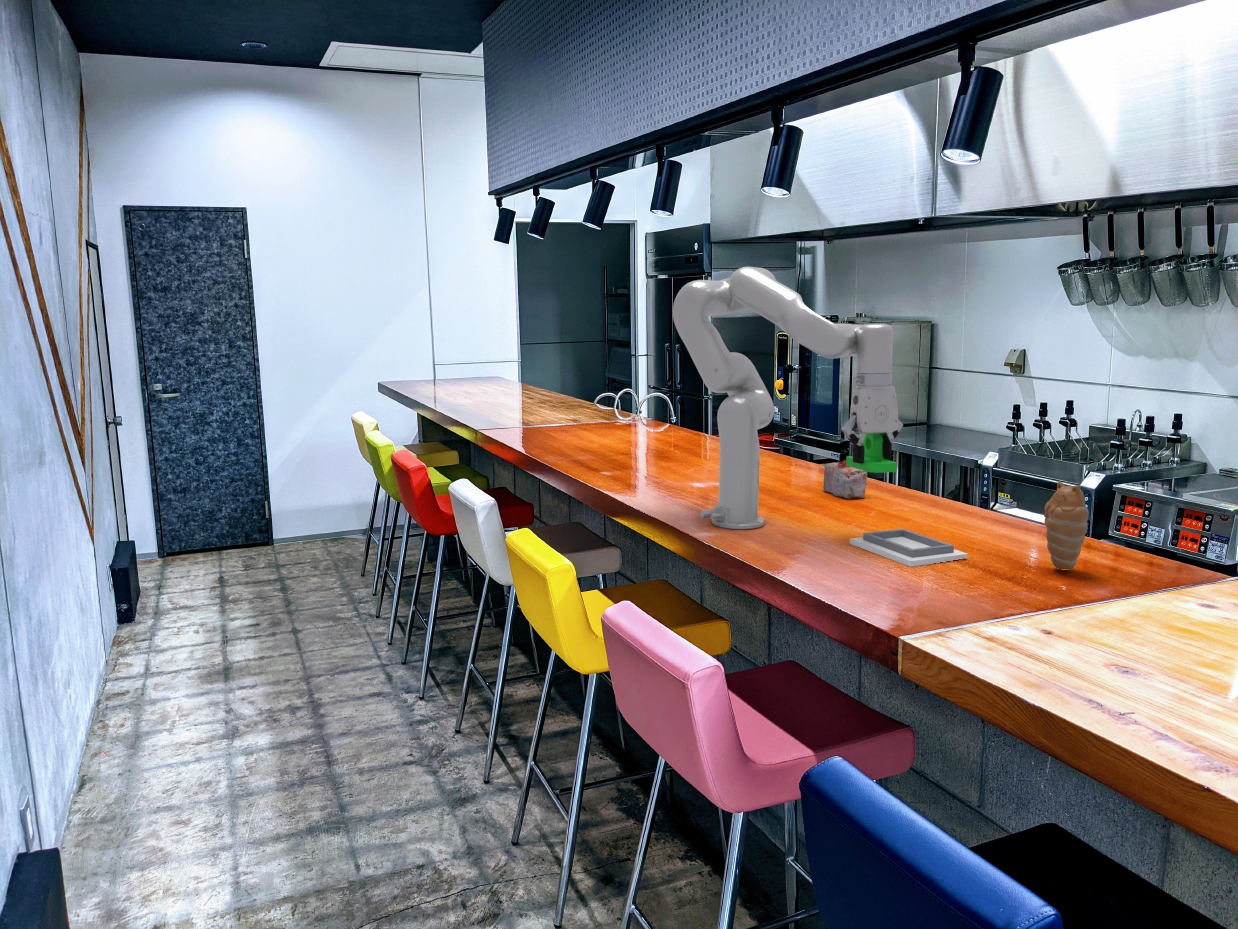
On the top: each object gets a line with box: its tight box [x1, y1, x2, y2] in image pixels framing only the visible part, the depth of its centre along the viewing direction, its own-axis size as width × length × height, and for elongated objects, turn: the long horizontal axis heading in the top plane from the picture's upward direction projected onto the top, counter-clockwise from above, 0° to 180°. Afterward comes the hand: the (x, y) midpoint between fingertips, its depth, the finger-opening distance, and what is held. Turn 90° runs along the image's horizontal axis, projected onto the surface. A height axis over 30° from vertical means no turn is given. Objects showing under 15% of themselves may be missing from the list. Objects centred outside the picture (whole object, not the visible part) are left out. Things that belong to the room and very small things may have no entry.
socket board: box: [849, 528, 969, 568], centre depth 201 cm, size 15×20×3 cm
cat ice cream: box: [1043, 480, 1089, 570], centre depth 185 cm, size 9×8×18 cm
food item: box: [822, 459, 868, 500], centre depth 260 cm, size 14×8×10 cm, turn 21°
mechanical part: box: [845, 433, 898, 474], centre depth 207 cm, size 12×6×8 cm, turn 13°
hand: (872, 460), depth 207 cm, fingers closed on mechanical part, 6 cm apart
